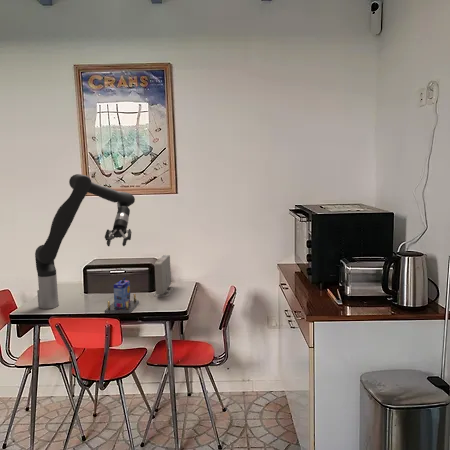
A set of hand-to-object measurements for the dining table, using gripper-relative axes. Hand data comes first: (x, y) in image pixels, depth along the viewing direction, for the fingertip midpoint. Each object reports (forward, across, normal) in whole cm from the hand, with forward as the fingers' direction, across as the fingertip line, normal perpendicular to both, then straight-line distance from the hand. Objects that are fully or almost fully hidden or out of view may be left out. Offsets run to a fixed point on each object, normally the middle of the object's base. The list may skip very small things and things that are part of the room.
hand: (115, 245), depth 243 cm
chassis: (+33, +7, +11) cm, 35 cm away
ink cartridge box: (+32, +7, +10) cm, 34 cm away
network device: (+11, +22, +33) cm, 41 cm away
